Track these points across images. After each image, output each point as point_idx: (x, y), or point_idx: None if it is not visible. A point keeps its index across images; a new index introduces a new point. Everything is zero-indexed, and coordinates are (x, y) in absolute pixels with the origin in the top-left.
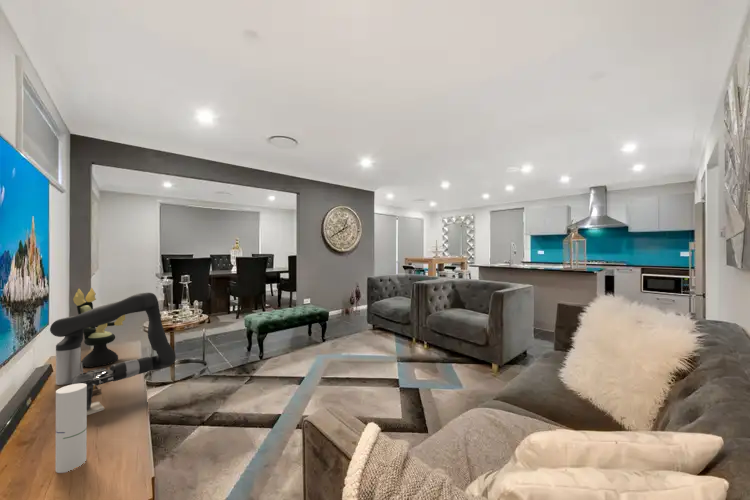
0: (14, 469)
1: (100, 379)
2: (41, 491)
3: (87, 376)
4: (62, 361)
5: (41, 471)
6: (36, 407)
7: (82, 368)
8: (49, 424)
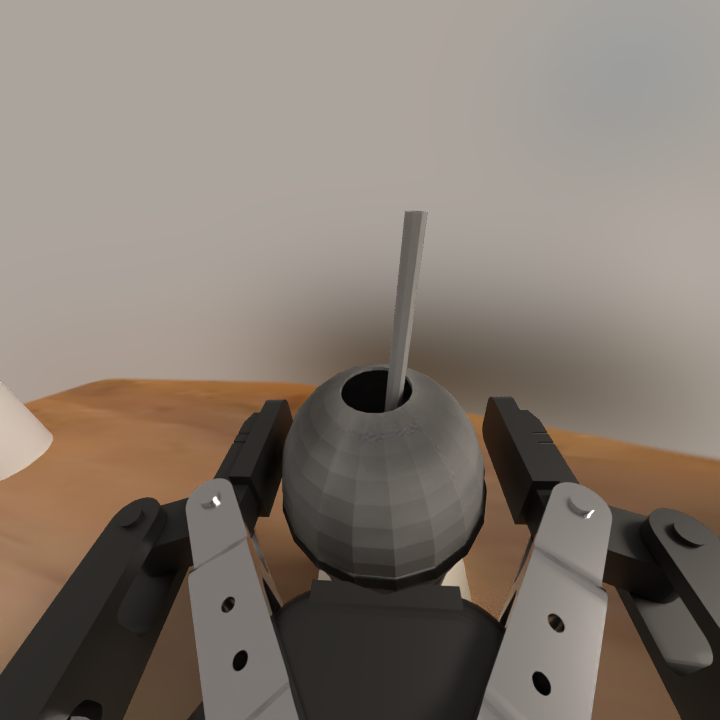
0: (175, 387)
1: (90, 561)
2: None
3: (302, 430)
4: None
5: (89, 414)
6: (631, 450)
7: (397, 317)
8: None
